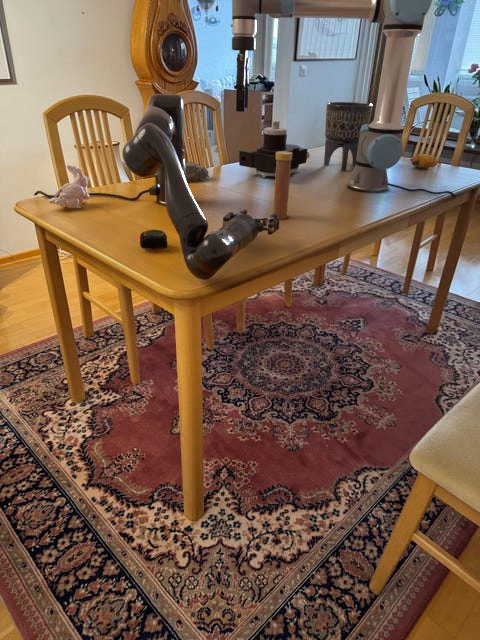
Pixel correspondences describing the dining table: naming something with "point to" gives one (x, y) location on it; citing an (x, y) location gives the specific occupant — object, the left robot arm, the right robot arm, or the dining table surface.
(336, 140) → the planter
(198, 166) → the rock
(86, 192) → the figurine
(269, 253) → the dining table surface
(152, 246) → the tape measure
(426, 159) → the toy
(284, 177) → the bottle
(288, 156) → the lid
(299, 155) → the mechanical component
